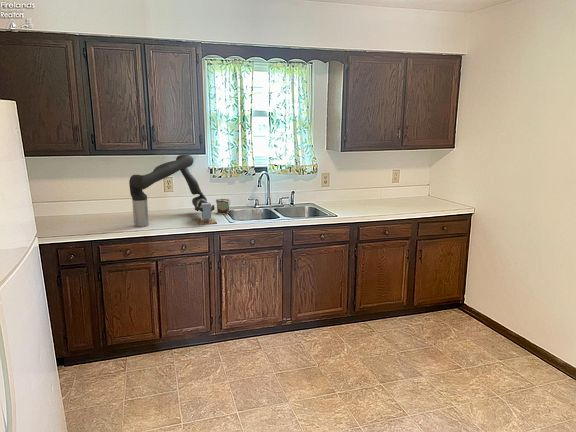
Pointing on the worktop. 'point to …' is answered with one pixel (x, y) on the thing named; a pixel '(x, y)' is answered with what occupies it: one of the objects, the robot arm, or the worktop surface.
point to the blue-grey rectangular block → (206, 210)
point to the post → (206, 221)
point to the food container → (223, 205)
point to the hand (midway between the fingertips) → (206, 210)
